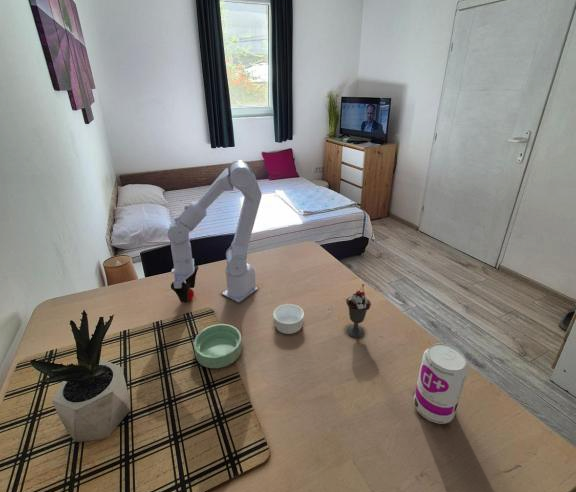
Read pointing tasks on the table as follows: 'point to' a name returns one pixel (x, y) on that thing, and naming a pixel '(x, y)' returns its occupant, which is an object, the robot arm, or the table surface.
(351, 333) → the sundae
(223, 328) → the bowl
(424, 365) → the supplement can
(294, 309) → the ramekin
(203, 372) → the table surface
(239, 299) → the robot arm
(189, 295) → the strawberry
